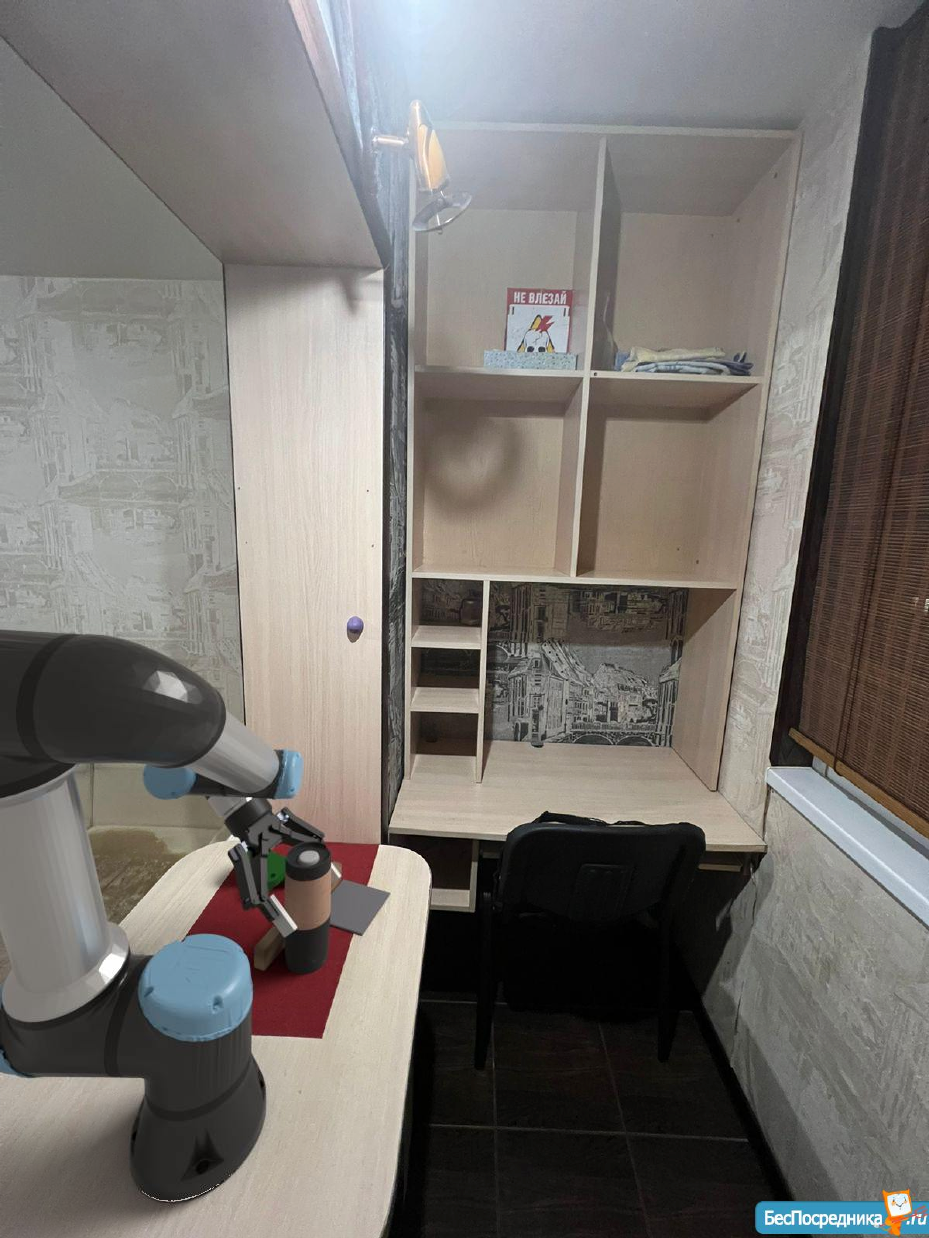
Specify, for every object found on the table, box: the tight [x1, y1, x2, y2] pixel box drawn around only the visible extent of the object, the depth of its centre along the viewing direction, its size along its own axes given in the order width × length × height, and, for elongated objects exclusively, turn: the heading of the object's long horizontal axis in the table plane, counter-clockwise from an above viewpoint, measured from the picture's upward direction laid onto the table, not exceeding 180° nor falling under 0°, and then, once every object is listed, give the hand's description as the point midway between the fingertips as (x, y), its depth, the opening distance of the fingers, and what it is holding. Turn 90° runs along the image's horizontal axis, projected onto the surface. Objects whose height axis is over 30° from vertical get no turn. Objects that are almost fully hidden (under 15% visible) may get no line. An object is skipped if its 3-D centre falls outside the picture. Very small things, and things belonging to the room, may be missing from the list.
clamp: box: [247, 850, 286, 894], centre depth 109 cm, size 12×6×9 cm, turn 57°
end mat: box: [330, 879, 391, 936], centre depth 104 cm, size 12×11×1 cm
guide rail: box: [253, 860, 343, 972], centre depth 100 cm, size 25×2×4 cm, turn 163°
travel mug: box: [284, 841, 333, 975], centre depth 90 cm, size 8×8×20 cm
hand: (315, 904), depth 90 cm, fingers open, 13 cm apart
